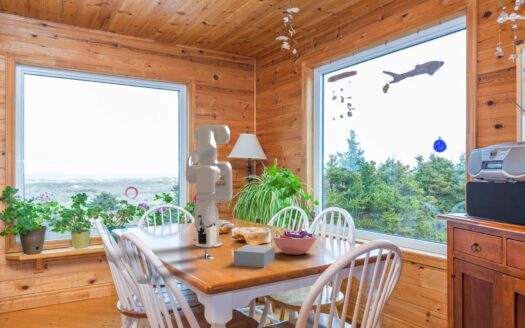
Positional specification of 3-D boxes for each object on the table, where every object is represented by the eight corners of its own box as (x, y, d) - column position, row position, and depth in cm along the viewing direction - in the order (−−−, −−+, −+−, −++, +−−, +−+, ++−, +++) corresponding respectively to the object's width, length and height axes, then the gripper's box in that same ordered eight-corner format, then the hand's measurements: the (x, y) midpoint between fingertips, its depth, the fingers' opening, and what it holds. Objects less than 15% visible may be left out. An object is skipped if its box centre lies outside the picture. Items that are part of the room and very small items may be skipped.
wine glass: (200, 259, 163) (199, 224, 163) (194, 256, 170) (194, 222, 170) (217, 257, 166) (217, 223, 167) (211, 254, 173) (211, 221, 174)
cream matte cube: (196, 245, 150) (195, 228, 150) (203, 242, 156) (203, 225, 156) (209, 246, 148) (209, 228, 148) (216, 243, 154) (216, 226, 154)
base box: (233, 265, 154) (233, 250, 154) (246, 258, 166) (246, 244, 166) (264, 268, 149) (264, 252, 149) (274, 260, 161) (274, 246, 161)
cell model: (273, 250, 181) (272, 226, 181) (315, 249, 181) (314, 225, 181) (272, 258, 164) (272, 232, 164) (319, 258, 164) (319, 231, 164)
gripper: (207, 194, 161) (207, 237, 162) (186, 198, 145) (186, 246, 145) (223, 195, 159) (224, 238, 159) (204, 199, 142) (204, 247, 143)
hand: (206, 241), depth 152 cm, fingers closed on cream matte cube, 6 cm apart
